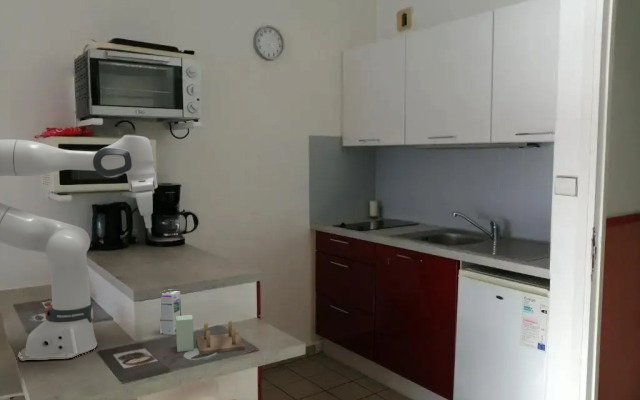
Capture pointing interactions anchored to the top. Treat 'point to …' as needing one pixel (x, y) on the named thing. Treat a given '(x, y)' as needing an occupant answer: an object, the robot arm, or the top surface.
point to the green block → (184, 333)
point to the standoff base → (219, 341)
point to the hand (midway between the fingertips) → (148, 226)
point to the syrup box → (170, 311)
